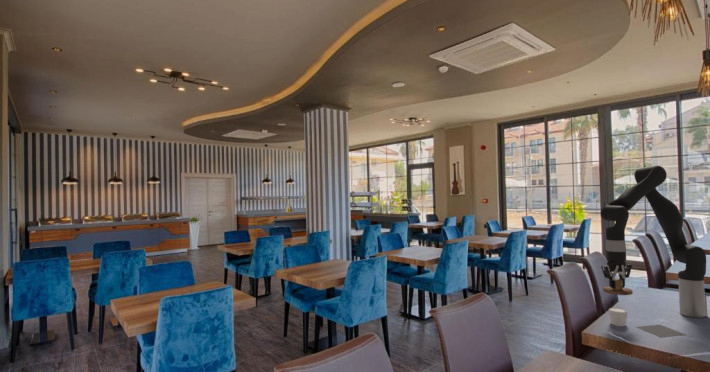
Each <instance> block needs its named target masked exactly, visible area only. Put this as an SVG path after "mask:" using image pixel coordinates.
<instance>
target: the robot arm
mask: <svg viewBox="0 0 710 372" xmlns="http://www.w3.org/2000/svg"><path fill="white" fill-rule="evenodd" d="M667 175H668V174H667V171H666V169H665V168H664V167H663V166H661V165H649V166H645V167H641V168H640V167H639V168H637V169H636V170H635V171H634V175H633V177H634V180H635V182H636V184H634V185H633V186H631V187H629V188H627V189H626V190H624V191H623V192H622V193H621V194H620V195H619V196H618V197H617V198H615V199H614V200H611V201H610V202H608V203H607V204H605V205H603V206H602V208H601V211H600V216H601V218H602V219H603V220H605V221H608V222H615V223H614V225H609V226H607V227H606V228H605V238H606V240H605V257H606V261H607V263H606V264H605V265H600V266H601V270H602V274H603V276H604V278H605V279H608V281H609V285H608V286H610V287H611V288H615V278H616V276H617V275H618V279H622V280H623V288H625V286H626V278H629V277H630V275H631V270H632V268H633V265H632V264H628V263H627V262H626V261H627V246H626V245H627V244H626V238H625V237H626V235H625V232H626V228H627V224H628V220H629V218H630V217H629V216H630V213H629V210H631V209H633V207H634V206H636V204H637V203H638V202H640V200H642V199H643V198H644V197H645V198H646V199H647V200H646V201H648V204H649V206H650V207H651V209H652V212H653V213H654V216H655V217H656V220H657V222H658V223H659V226H660V228H661V229H662V231H663V233H664V235H665V237H666V240H667V242H668V243H667V244H668V245H669V248H670V250H671V253H672V256H673V258H674V259H675V260H676V261H677V262H679V263H681V264H685V269H684V270H679V271H678V274H677V277H678V296H679V297H678V298H679V299H678V300H679V301H678V303H679V314H681V315H683V316H686V317H690V318H697V319H698V318H699V319H700V318H701V319H702V318H705V317H707V316H708V302H707V295H705V292H706V291H705V275H706V274H707V255H706V251H705V250H704V249H703V248H702V247H700V246H697V245H692V244H688V243H687V241H686V239H685V237H684V235H683V231H682V230H683V225H684V219H683V215H682V214H681V212H680V209H679V208H678V206H677V205H676V204H675V203H673V201H671V200H669V199H668V198H667V197H666V196H664V195H663V194H661V193H660V192H659V191H658V189H657V187H659V186H660V185H662V184H663V183H664V182H666V181H667Z"/></svg>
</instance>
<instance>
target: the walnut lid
mask: <svg viewBox="0 0 710 372" xmlns="http://www.w3.org/2000/svg"><path fill="white" fill-rule="evenodd" d="M602 291H603V292H605V293H606V294H611V295H616V296H617V295H618V296H630V295H631V296H632V295H633V293H634V292H633V290H632V289H630V288H628V287H624V288H623V280H622V279H619V278H616V277H615V288H611V287H610V285H608V286H603V287H602Z"/></svg>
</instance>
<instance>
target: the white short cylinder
mask: <svg viewBox="0 0 710 372" xmlns="http://www.w3.org/2000/svg"><path fill="white" fill-rule="evenodd" d="M608 311H609V314H608V315H609V320H610V324H612V325H613V326H617V327H626V326H627V321H628V320H627V319H628V311H627V310H626V309H623V308H619V307H611V308H608Z"/></svg>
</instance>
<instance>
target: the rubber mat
mask: <svg viewBox="0 0 710 372" xmlns="http://www.w3.org/2000/svg"><path fill="white" fill-rule="evenodd" d="M636 328H637V329H639V330H642V331H643V332H647V333H649V334H651V335H654V336H655V337H658V338H661V339H662V338H668V337H669V338H670V337H672V338H673V337H678V336H679V337H681V336H687V334H686V333H683V332H682V331H681V332H680V331H678V330H675V329H672V328H670V327H667V326H665V325H662V324H653V325H641V326H636Z"/></svg>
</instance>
